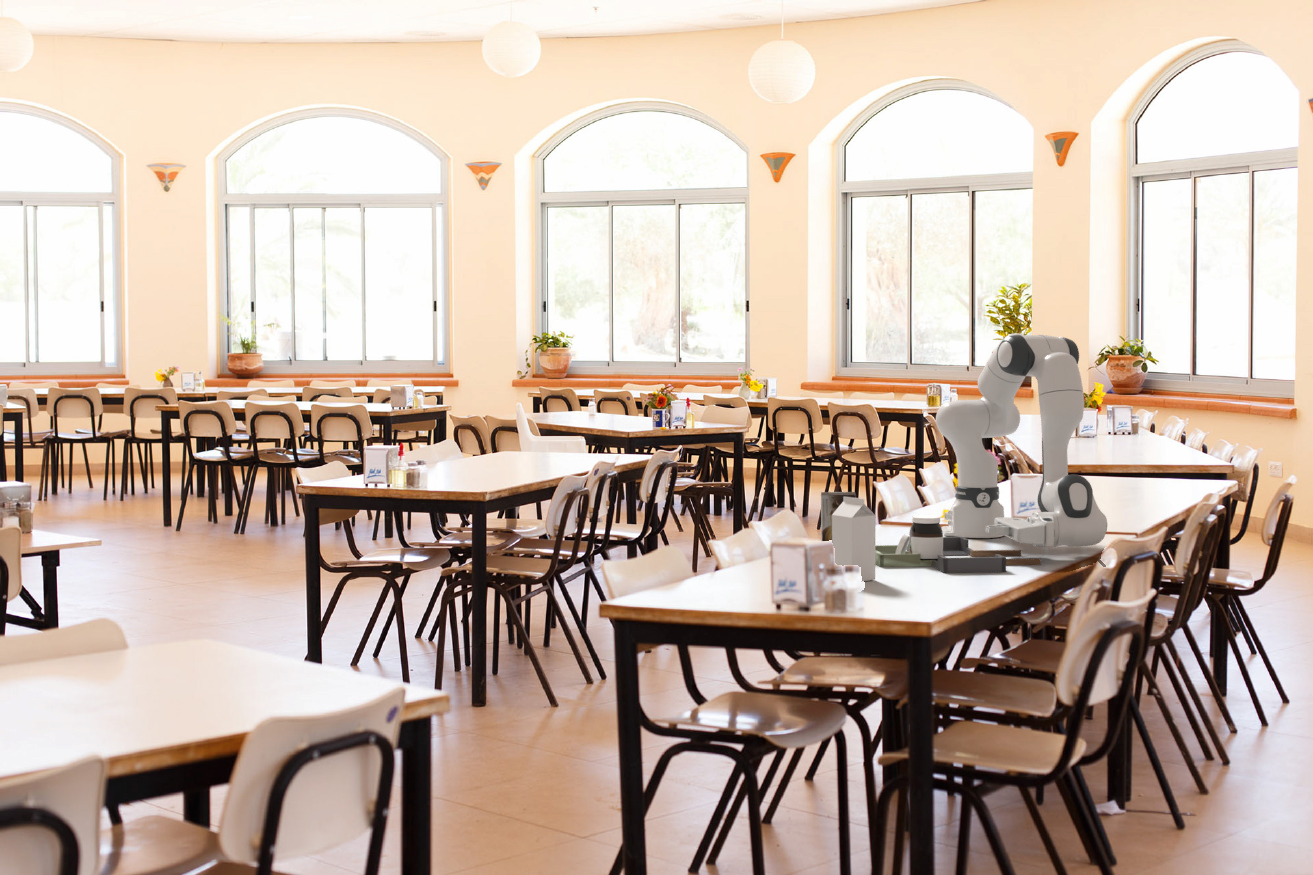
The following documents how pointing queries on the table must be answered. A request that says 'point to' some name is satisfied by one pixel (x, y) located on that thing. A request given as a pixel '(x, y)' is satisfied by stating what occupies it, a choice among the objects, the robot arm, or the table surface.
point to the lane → (889, 559)
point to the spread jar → (923, 538)
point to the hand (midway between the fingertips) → (987, 529)
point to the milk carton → (854, 536)
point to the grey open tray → (954, 546)
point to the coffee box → (830, 510)
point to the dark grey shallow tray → (970, 564)
